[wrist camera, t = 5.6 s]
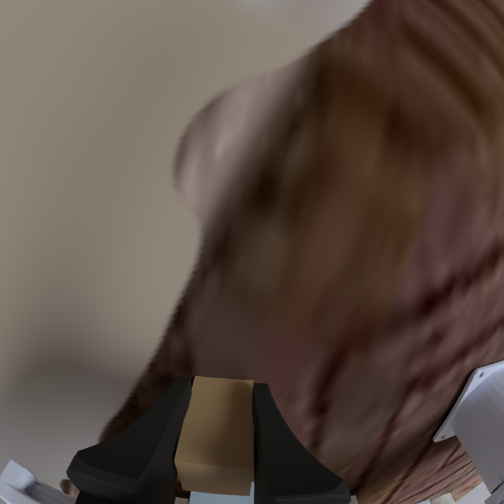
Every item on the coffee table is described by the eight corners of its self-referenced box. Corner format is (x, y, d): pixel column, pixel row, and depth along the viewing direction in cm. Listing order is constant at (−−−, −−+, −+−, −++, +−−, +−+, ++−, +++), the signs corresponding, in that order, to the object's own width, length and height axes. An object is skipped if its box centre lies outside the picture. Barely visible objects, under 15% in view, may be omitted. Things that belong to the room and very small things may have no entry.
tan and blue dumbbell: (272, 380, 13) (280, 468, 8) (252, 501, 18) (252, 548, 13) (176, 373, 13) (149, 455, 8) (198, 497, 18) (192, 543, 13)
